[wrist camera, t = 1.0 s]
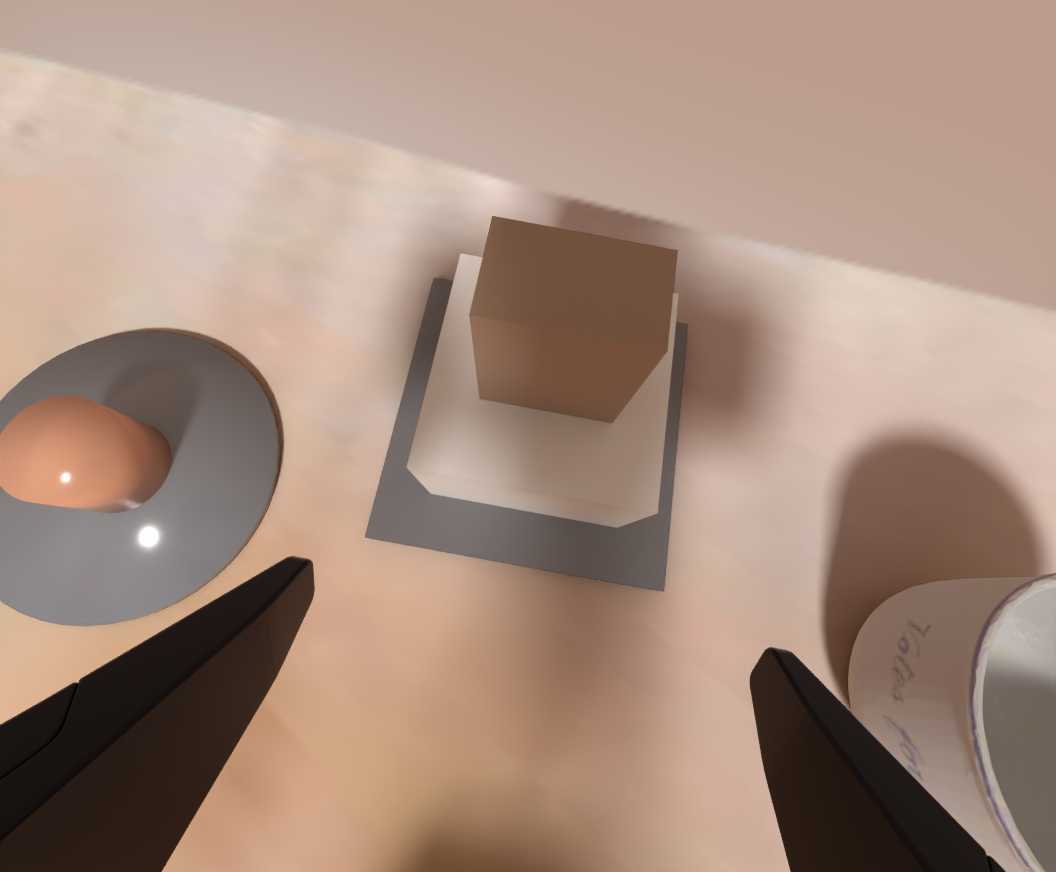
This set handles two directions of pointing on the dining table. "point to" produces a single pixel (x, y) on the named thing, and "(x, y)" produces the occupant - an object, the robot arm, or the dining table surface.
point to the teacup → (970, 705)
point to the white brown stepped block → (552, 376)
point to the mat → (510, 532)
